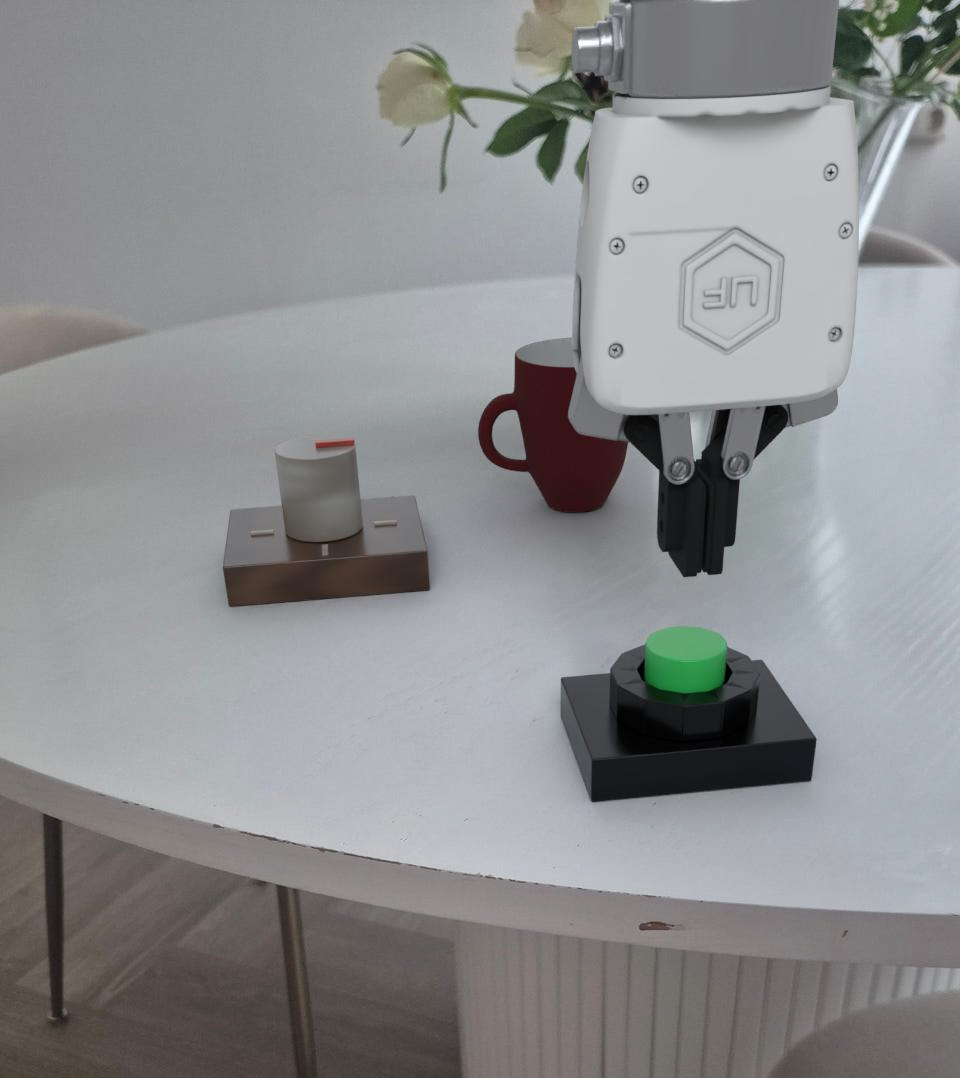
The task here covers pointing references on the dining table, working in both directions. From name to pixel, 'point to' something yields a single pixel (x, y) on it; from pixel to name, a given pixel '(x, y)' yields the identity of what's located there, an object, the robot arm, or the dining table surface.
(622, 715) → the switch block
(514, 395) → the mug
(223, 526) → the dining table surface
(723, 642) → the light button
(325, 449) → the dimmer knob
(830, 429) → the dining table surface
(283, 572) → the dimmer panel
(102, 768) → the dining table surface
